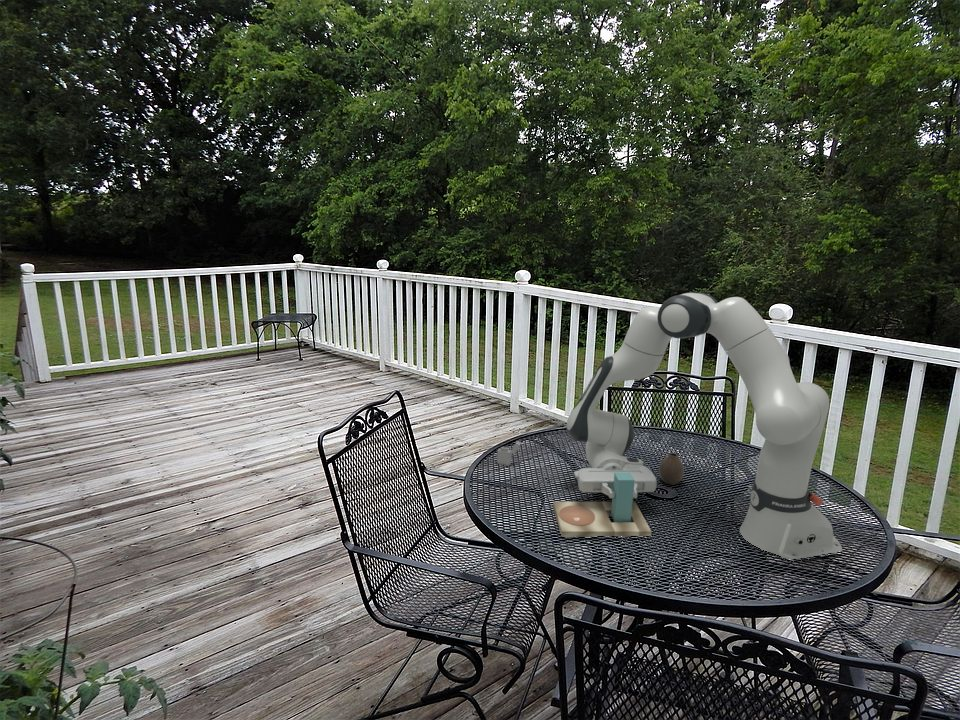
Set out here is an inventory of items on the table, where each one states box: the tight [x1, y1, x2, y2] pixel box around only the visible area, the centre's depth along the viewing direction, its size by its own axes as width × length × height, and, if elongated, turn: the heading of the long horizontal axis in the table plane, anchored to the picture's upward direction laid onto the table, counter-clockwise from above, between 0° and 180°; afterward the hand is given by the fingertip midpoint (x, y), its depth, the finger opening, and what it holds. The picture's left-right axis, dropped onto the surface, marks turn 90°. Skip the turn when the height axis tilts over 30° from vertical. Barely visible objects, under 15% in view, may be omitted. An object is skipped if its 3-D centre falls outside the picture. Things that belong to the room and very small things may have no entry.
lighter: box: [496, 440, 522, 466], centre depth 176 cm, size 7×2×8 cm, turn 72°
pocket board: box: [552, 501, 652, 537], centre depth 146 cm, size 22×14×2 cm, turn 92°
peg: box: [610, 473, 635, 522], centre depth 144 cm, size 4×4×12 cm
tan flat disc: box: [559, 506, 595, 526], centre depth 146 cm, size 9×9×1 cm
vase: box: [658, 452, 685, 486], centre depth 167 cm, size 7×7×9 cm
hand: (623, 495), depth 143 cm, fingers closed on peg, 4 cm apart
